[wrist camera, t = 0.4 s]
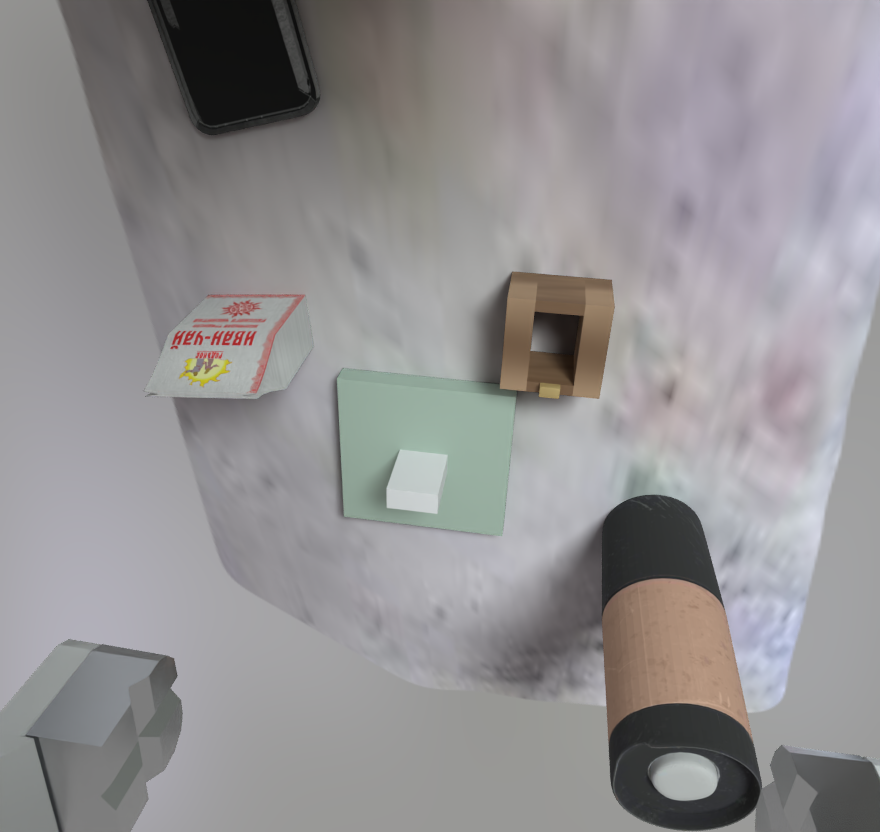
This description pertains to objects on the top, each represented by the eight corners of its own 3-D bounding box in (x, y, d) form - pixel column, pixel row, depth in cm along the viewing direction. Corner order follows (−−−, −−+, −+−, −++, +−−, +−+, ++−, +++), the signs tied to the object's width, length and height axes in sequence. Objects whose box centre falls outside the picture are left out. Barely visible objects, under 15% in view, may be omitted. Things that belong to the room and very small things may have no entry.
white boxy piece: (314, 345, 51) (263, 424, 42) (220, 344, 52) (153, 422, 43) (305, 294, 49) (250, 367, 40) (208, 294, 50) (135, 366, 42)
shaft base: (342, 368, 51) (317, 414, 46) (517, 385, 50) (511, 435, 45) (348, 504, 58) (327, 557, 53) (503, 522, 56) (496, 579, 51)
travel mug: (706, 569, 56) (762, 836, 39) (601, 572, 58) (613, 829, 41) (706, 488, 52) (769, 746, 35) (594, 493, 54) (604, 742, 37)
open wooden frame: (512, 271, 46) (506, 301, 42) (611, 280, 45) (615, 310, 41) (504, 358, 49) (499, 392, 45) (597, 367, 48) (599, 402, 45)
